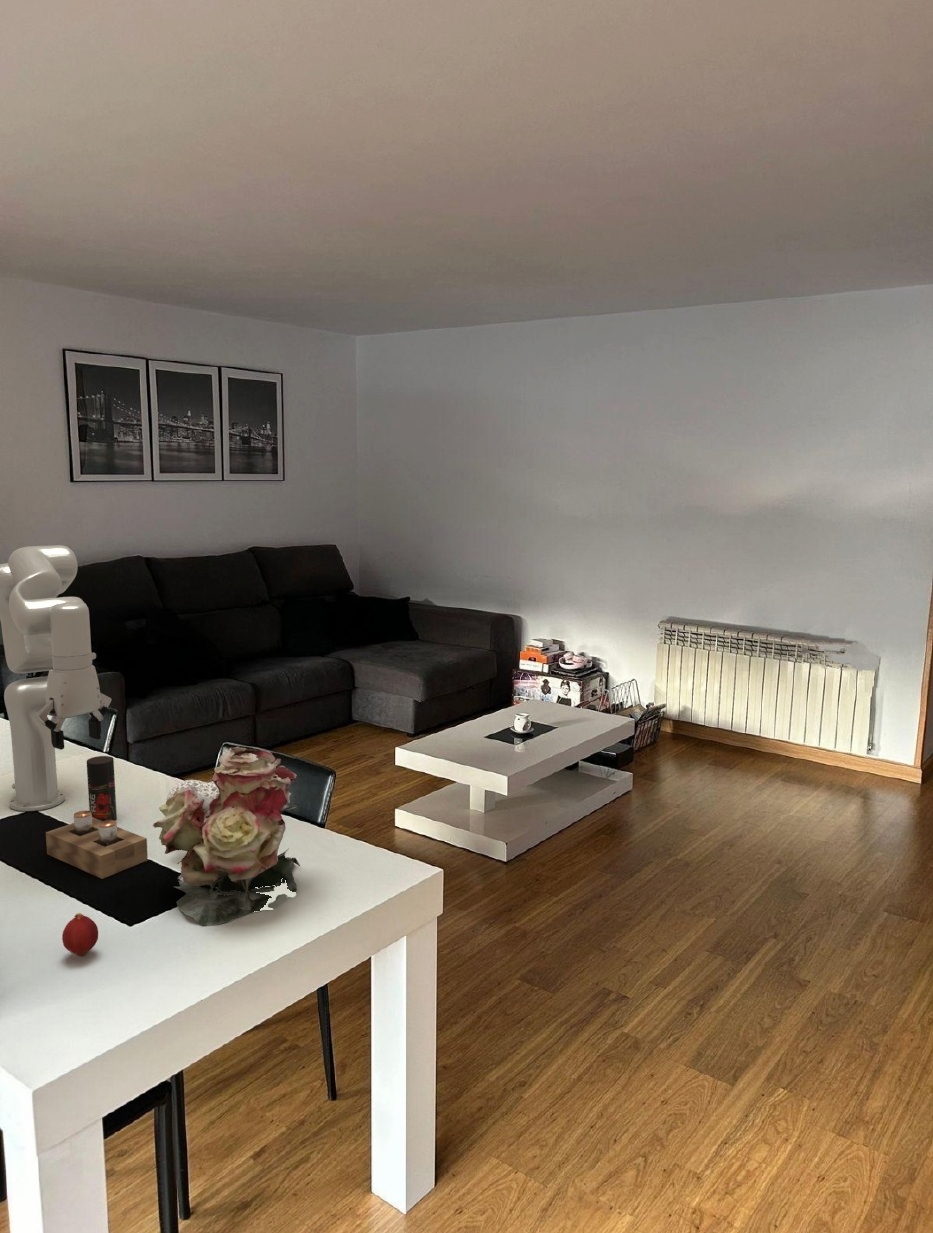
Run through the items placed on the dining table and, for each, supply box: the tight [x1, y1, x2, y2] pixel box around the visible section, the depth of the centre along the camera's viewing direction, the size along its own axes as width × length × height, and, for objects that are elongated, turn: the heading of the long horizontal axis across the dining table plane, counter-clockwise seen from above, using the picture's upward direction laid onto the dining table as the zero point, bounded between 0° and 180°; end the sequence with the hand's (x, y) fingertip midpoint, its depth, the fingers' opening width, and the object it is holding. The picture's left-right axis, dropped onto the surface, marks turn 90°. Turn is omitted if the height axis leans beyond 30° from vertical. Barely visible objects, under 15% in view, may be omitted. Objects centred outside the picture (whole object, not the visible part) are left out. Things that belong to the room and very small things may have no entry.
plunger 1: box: [73, 809, 93, 836], centre depth 201 cm, size 4×4×5 cm
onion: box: [61, 912, 99, 957], centre depth 160 cm, size 6×6×8 cm
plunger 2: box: [99, 820, 118, 847], centre depth 196 cm, size 4×4×5 cm
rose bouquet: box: [152, 744, 301, 927], centre depth 181 cm, size 26×29×30 cm
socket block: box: [45, 817, 149, 880], centre depth 199 cm, size 20×11×5 cm, turn 55°
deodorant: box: [86, 755, 118, 822], centre depth 218 cm, size 6×6×15 cm
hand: (77, 742), depth 194 cm, fingers open, 7 cm apart
